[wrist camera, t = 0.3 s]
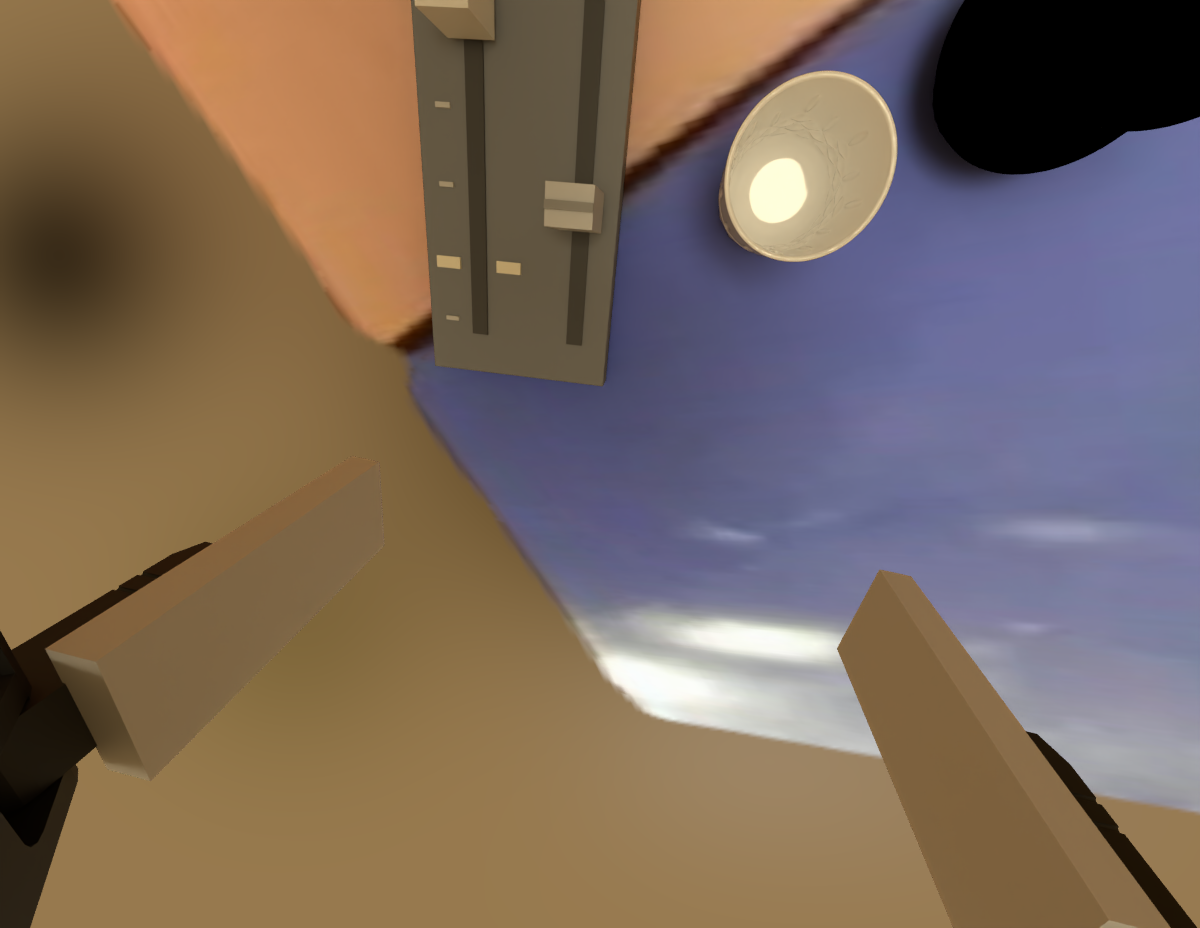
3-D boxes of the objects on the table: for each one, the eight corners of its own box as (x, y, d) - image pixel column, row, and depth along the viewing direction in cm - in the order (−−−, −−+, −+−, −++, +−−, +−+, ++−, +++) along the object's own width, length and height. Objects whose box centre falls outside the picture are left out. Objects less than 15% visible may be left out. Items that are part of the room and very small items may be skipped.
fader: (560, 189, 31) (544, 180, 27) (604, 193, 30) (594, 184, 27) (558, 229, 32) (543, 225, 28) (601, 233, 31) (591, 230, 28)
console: (421, -57, 28) (403, -79, 26) (645, -50, 27) (643, -72, 25) (445, 361, 39) (433, 366, 37) (605, 380, 38) (602, 386, 36)
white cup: (725, 277, 34) (744, 284, 25) (696, 158, 31) (706, 117, 22) (839, 235, 31) (906, 226, 22) (819, 104, 29) (887, 34, 20)
